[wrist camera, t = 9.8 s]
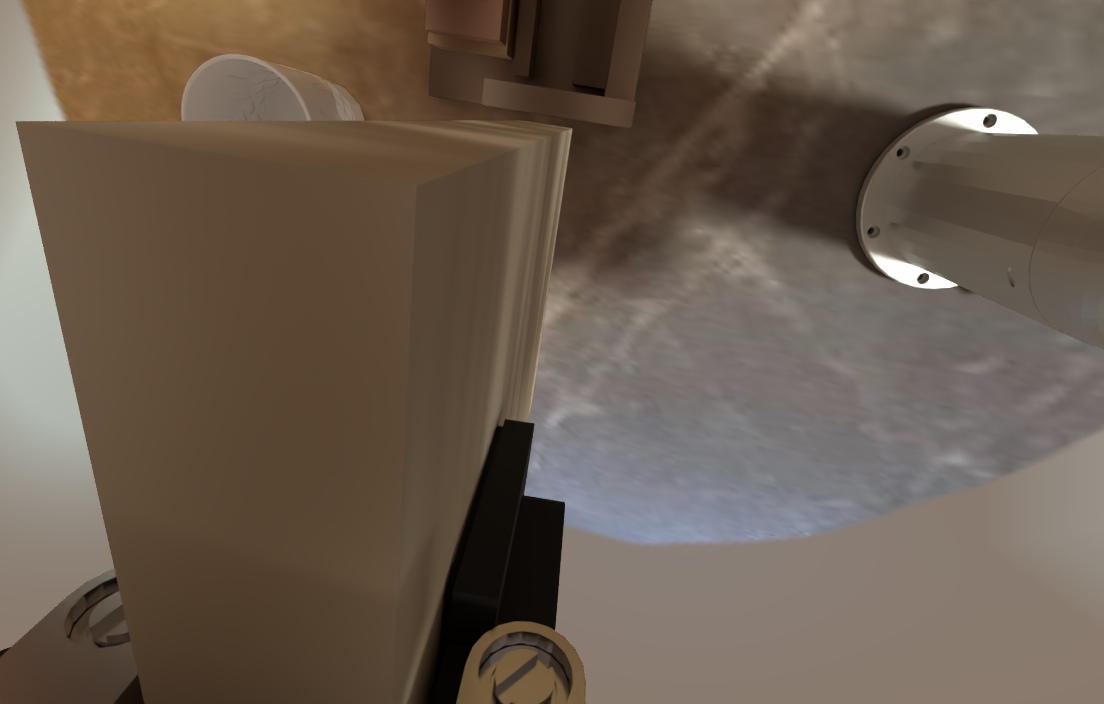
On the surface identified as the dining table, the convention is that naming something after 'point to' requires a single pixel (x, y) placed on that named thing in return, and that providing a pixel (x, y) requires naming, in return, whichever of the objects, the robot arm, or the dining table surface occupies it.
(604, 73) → the walnut rack
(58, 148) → the birch sheet
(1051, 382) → the dining table surface
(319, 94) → the white cup
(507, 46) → the offcut bundle
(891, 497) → the dining table surface
